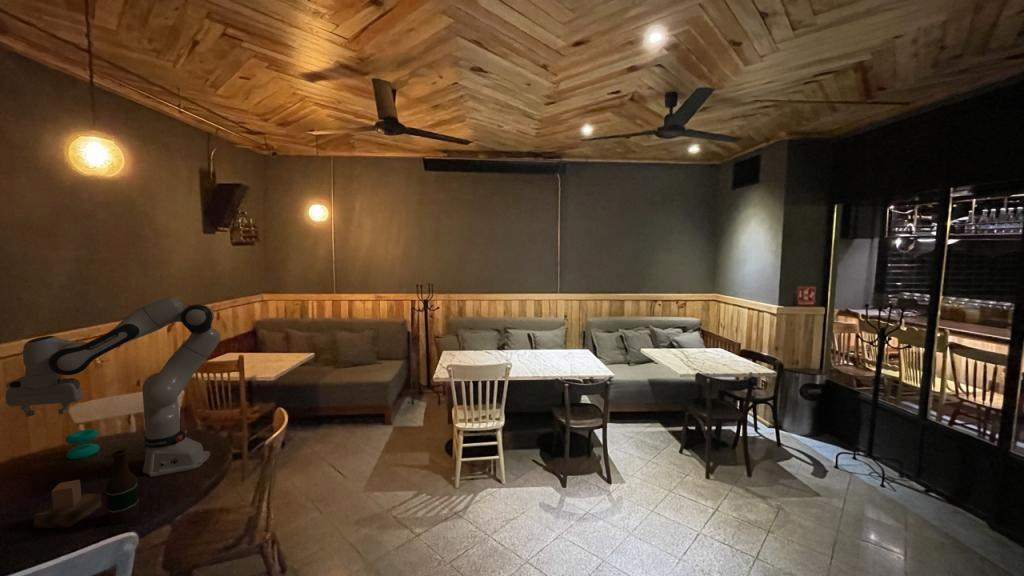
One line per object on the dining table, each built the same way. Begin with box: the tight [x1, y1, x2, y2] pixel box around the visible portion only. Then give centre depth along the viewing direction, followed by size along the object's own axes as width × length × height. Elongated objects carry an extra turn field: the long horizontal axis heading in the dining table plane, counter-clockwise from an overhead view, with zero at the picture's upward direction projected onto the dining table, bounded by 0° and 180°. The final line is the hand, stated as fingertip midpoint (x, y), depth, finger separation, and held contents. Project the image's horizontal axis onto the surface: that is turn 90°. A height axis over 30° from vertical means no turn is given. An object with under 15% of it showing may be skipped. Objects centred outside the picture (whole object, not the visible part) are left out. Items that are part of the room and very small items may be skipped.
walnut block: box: [32, 493, 103, 529], centre depth 136 cm, size 11×11×5 cm
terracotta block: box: [50, 479, 82, 511], centre depth 136 cm, size 5×5×7 cm
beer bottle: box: [105, 449, 140, 525], centre depth 136 cm, size 8×8×24 cm
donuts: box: [64, 428, 101, 460], centre depth 175 cm, size 10×10×10 cm
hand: (46, 414), depth 149 cm, fingers open, 8 cm apart
